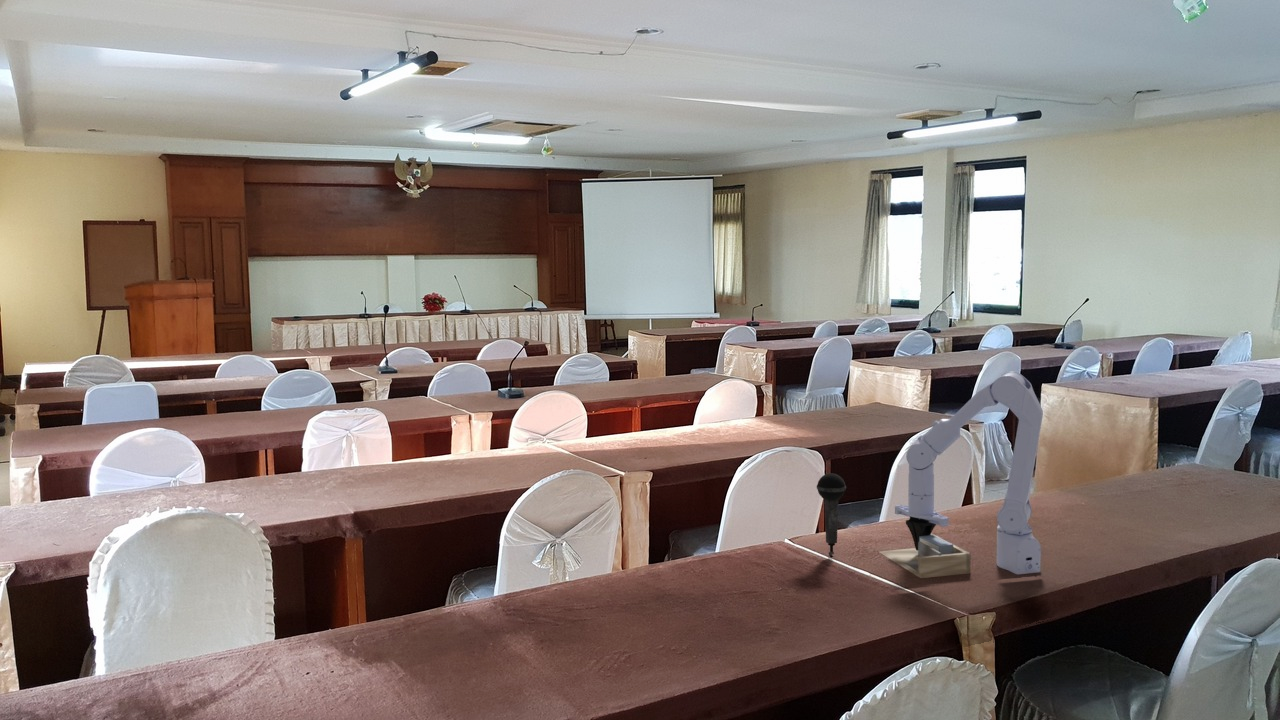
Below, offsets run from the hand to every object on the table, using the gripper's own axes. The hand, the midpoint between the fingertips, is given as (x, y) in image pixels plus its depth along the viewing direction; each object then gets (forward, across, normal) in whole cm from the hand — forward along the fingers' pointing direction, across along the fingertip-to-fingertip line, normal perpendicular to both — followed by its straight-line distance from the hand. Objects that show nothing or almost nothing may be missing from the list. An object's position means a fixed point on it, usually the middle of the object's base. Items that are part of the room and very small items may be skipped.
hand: (920, 550), depth 222 cm
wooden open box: (+2, -4, +4) cm, 6 cm away
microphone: (+2, +13, +16) cm, 21 cm away
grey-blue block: (+1, -6, +2) cm, 6 cm away
